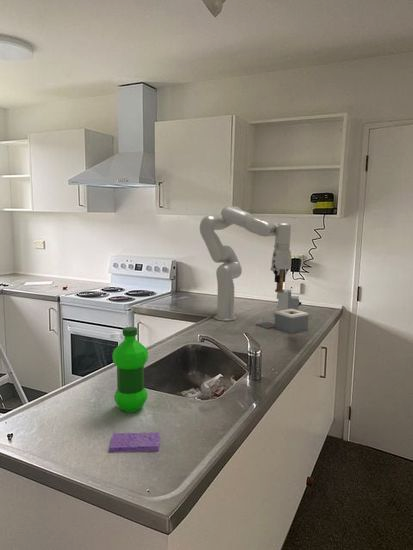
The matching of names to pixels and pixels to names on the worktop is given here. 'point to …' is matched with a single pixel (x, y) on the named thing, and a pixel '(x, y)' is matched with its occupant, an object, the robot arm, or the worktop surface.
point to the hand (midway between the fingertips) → (279, 281)
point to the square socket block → (291, 320)
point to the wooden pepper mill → (280, 284)
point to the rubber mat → (266, 325)
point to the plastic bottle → (130, 372)
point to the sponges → (135, 442)
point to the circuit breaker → (287, 301)
